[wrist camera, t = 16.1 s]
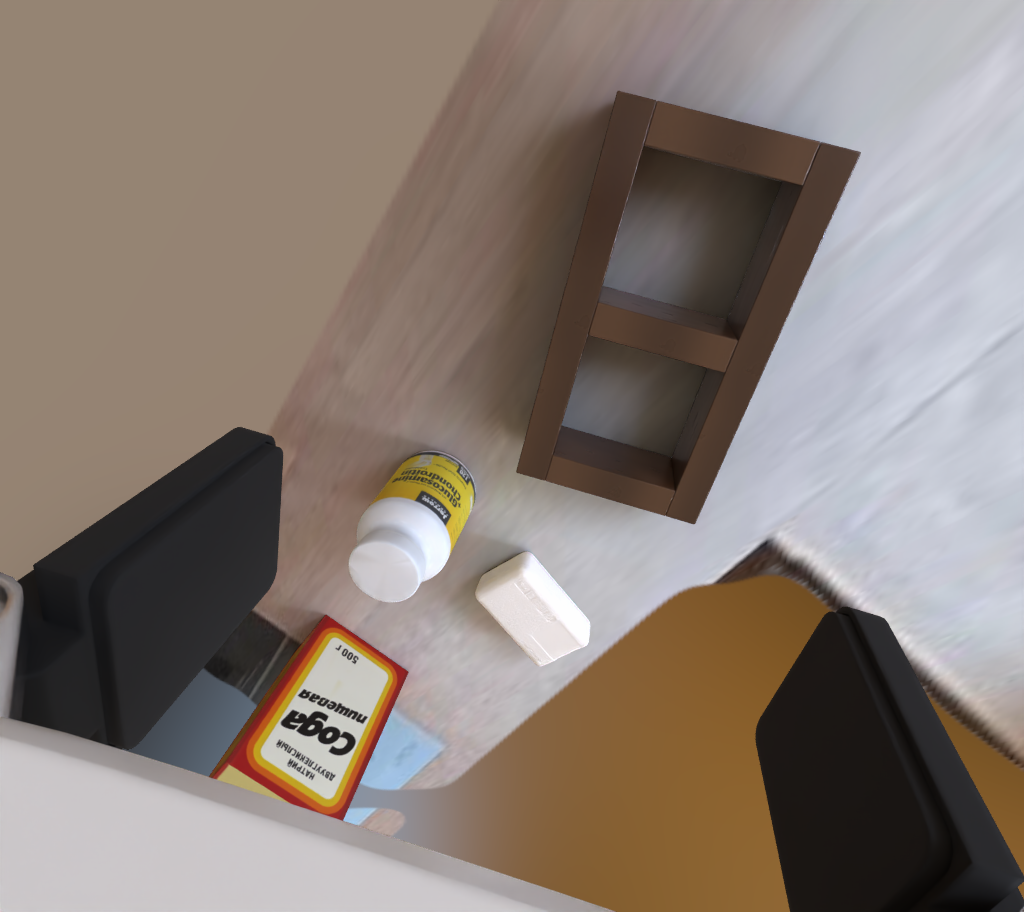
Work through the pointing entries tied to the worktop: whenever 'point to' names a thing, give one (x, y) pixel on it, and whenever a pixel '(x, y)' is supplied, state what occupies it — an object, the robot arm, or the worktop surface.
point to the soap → (533, 609)
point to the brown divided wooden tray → (675, 330)
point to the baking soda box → (316, 723)
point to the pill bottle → (412, 526)
